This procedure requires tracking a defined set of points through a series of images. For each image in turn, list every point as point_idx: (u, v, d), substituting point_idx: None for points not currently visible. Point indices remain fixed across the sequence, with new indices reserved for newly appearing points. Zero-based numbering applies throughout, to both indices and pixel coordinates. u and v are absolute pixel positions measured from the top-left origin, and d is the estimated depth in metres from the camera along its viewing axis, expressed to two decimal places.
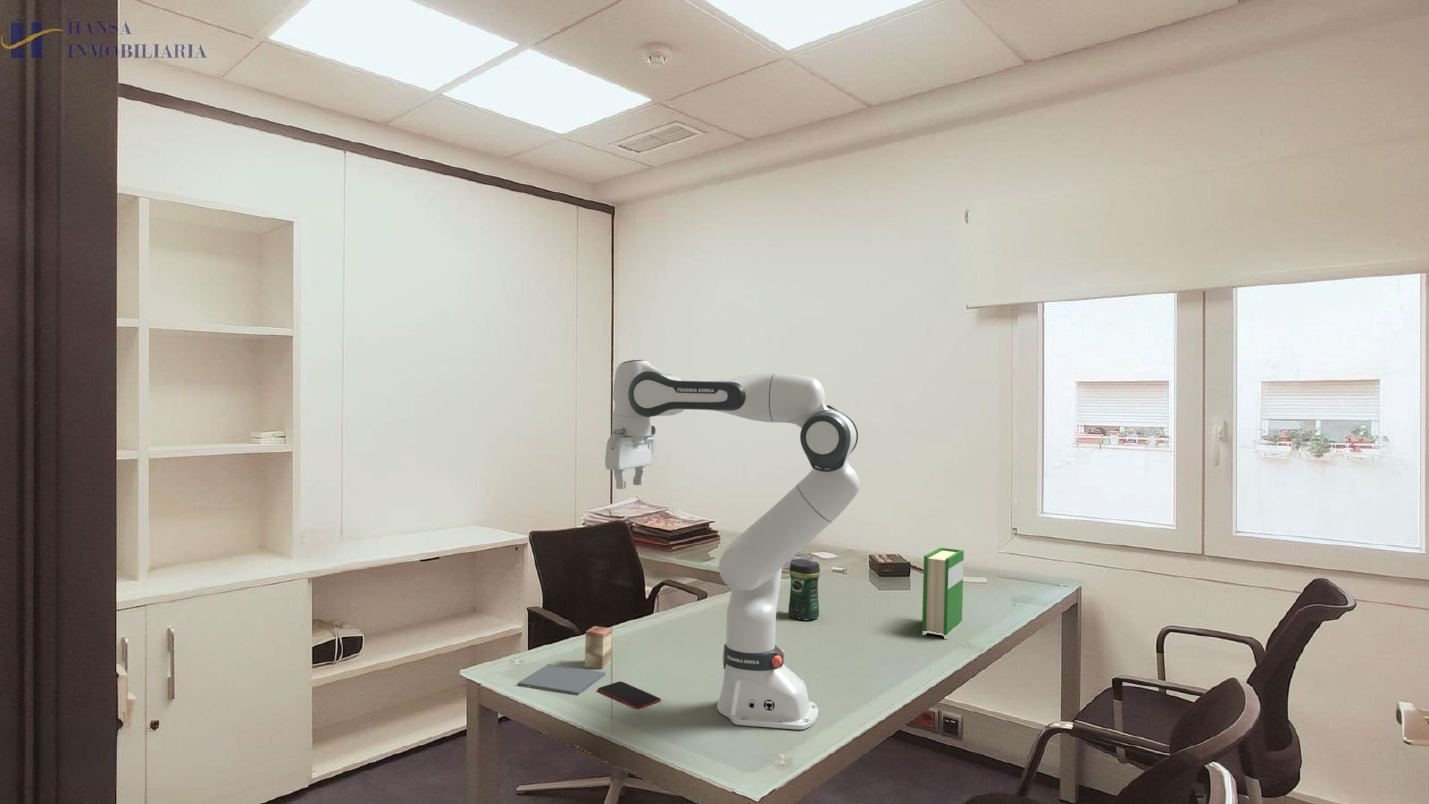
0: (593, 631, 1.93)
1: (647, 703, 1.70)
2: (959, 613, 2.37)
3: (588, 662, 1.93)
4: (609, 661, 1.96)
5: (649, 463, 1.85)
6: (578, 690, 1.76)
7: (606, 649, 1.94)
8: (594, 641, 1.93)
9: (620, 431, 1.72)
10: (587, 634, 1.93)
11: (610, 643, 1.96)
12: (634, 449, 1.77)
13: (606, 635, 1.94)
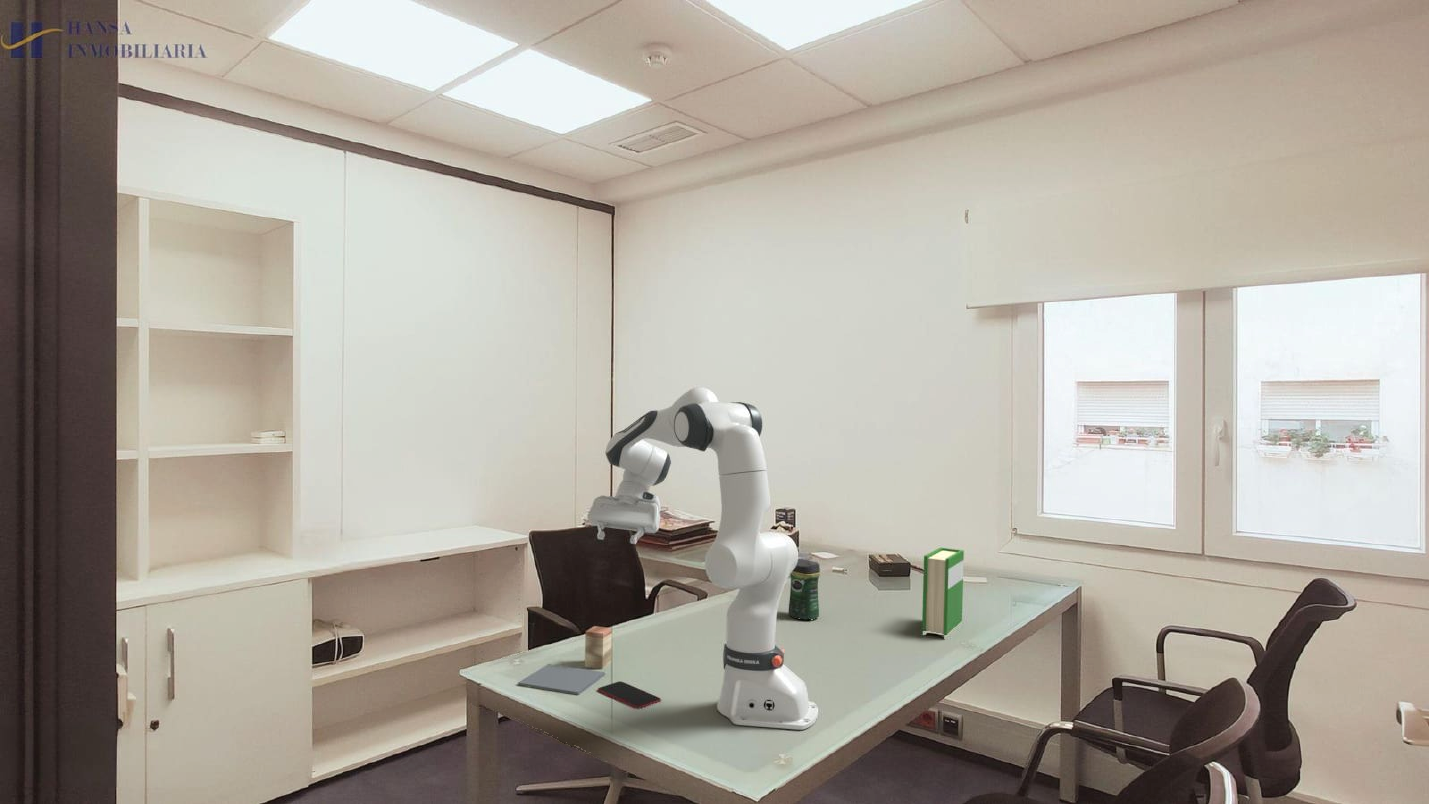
0: (593, 631, 1.93)
1: (647, 703, 1.70)
2: (959, 613, 2.37)
3: (588, 662, 1.93)
4: (609, 661, 1.96)
5: (647, 524, 2.05)
6: (578, 690, 1.76)
7: (606, 649, 1.94)
8: (594, 641, 1.93)
9: (607, 497, 2.15)
10: (587, 634, 1.93)
11: (610, 643, 1.96)
12: (621, 509, 2.10)
13: (606, 635, 1.94)
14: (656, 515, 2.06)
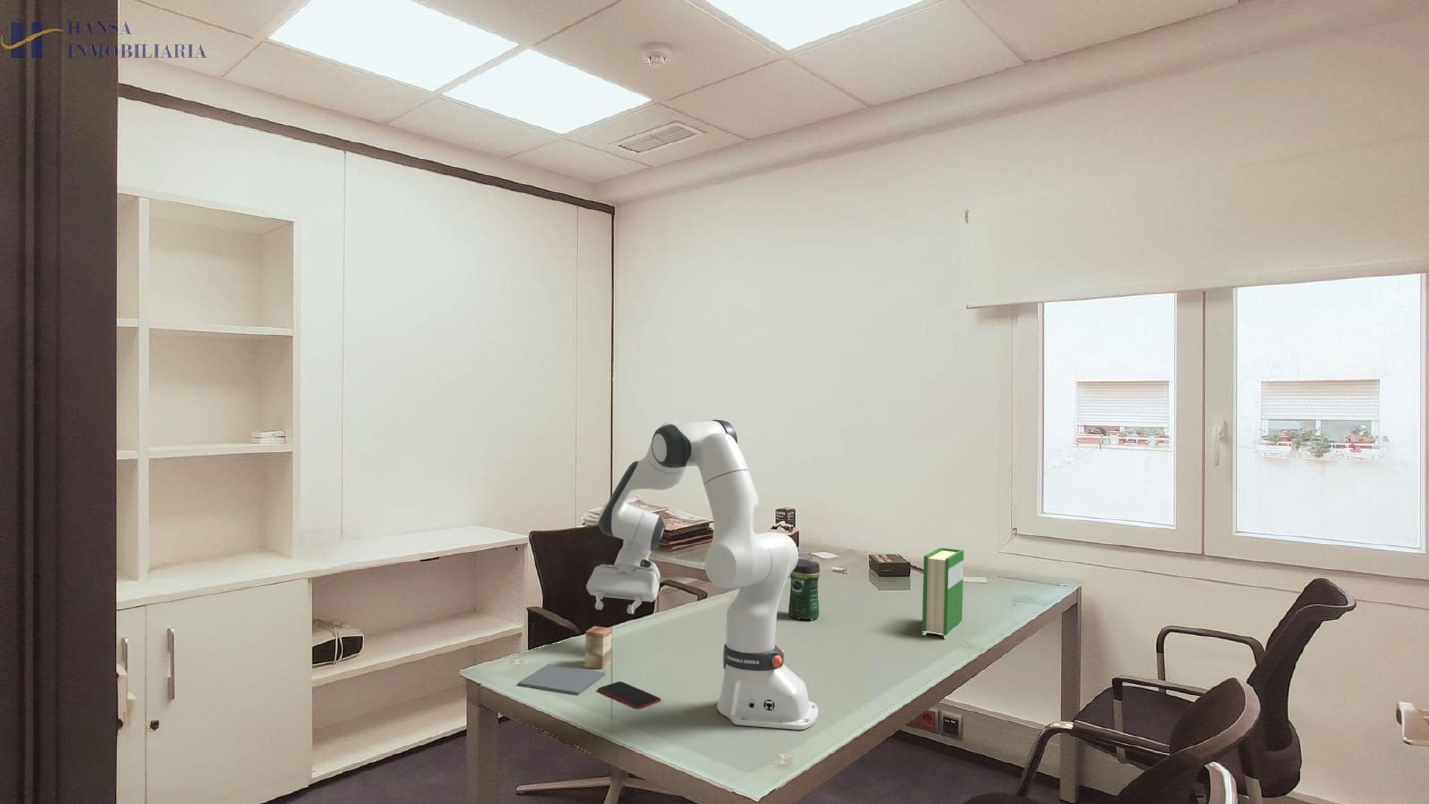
0: (593, 631, 1.93)
1: (647, 703, 1.70)
2: (959, 613, 2.37)
3: (588, 662, 1.93)
4: (609, 661, 1.96)
5: (644, 593, 2.03)
6: (578, 690, 1.76)
7: (606, 649, 1.94)
8: (594, 641, 1.93)
9: (607, 565, 2.14)
10: (587, 634, 1.93)
11: (610, 643, 1.96)
12: (619, 578, 2.08)
13: (606, 635, 1.94)
14: (653, 583, 2.04)
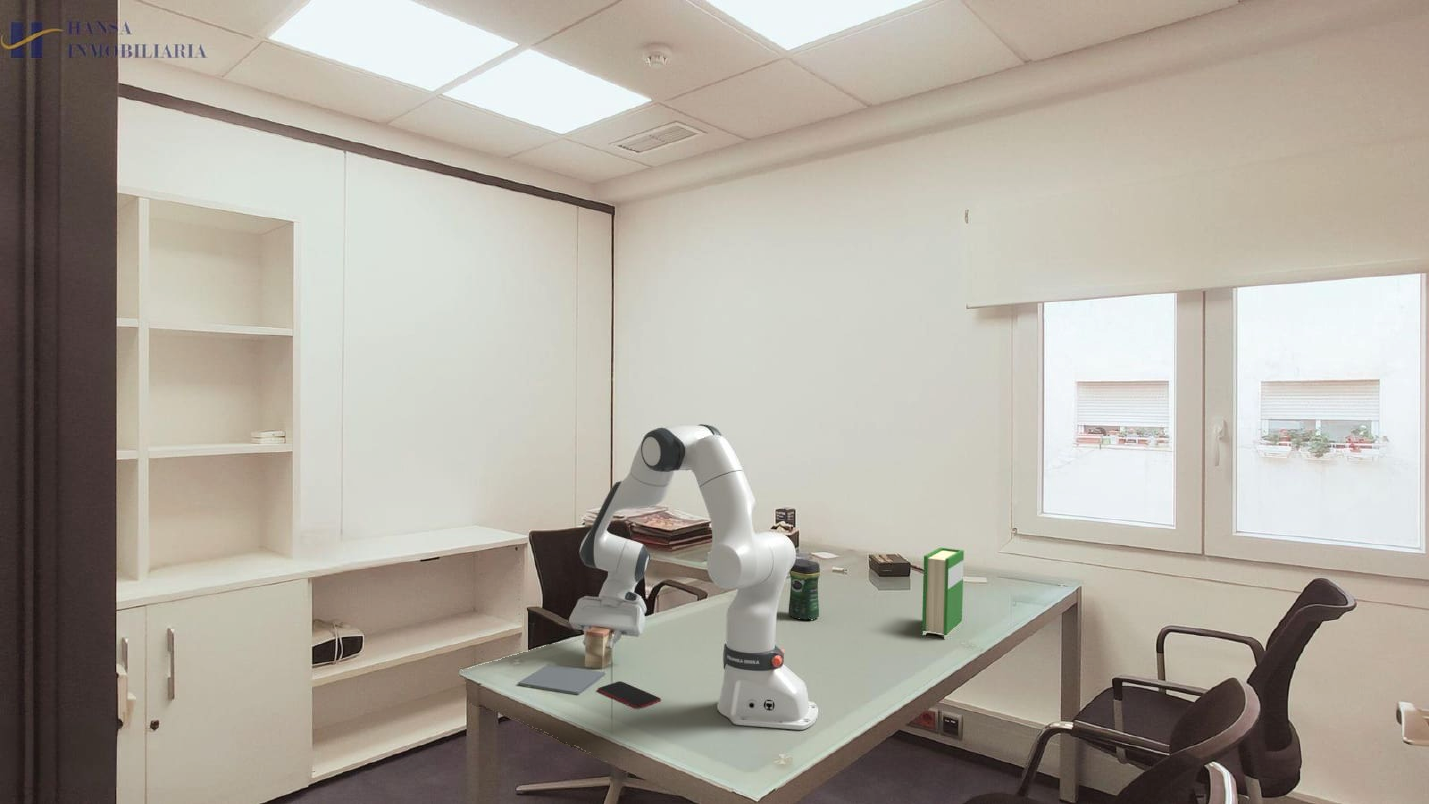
0: (593, 631, 1.93)
1: (647, 703, 1.70)
2: (959, 613, 2.37)
3: (588, 662, 1.93)
4: (609, 661, 1.96)
5: (628, 628, 1.94)
6: (578, 690, 1.76)
7: (606, 649, 1.94)
8: (594, 641, 1.93)
9: (591, 597, 2.05)
10: (587, 634, 1.93)
11: None
12: (603, 611, 2.00)
13: (606, 635, 1.94)
14: (638, 618, 1.96)
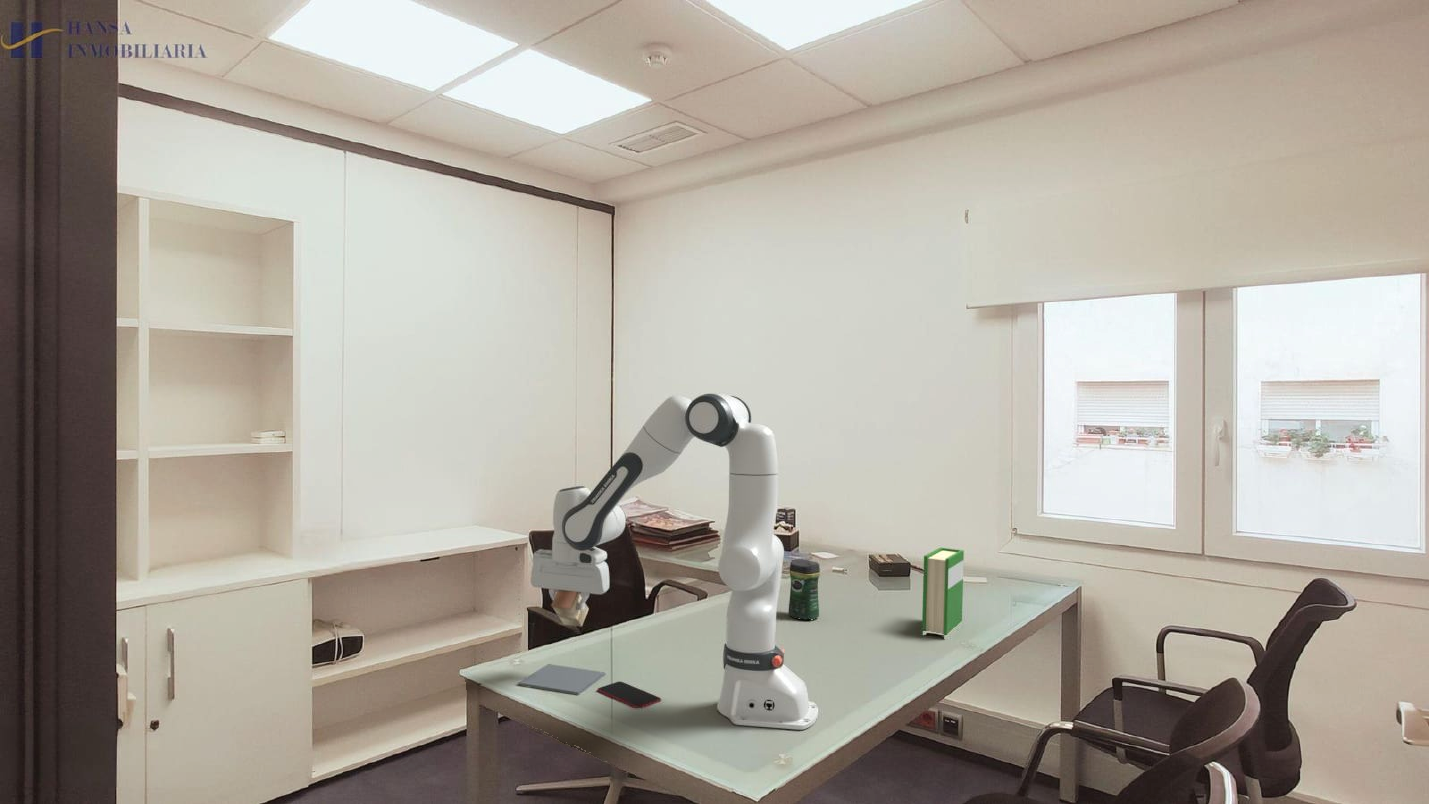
0: (559, 604, 1.82)
1: (647, 703, 1.70)
2: (959, 613, 2.37)
3: (566, 622, 1.87)
4: (587, 609, 1.89)
5: (594, 592, 1.81)
6: (578, 690, 1.76)
7: (578, 610, 1.85)
8: (563, 611, 1.83)
9: (545, 552, 1.87)
10: (554, 607, 1.83)
11: None
12: (562, 572, 1.84)
13: (573, 602, 1.83)
14: (600, 580, 1.81)
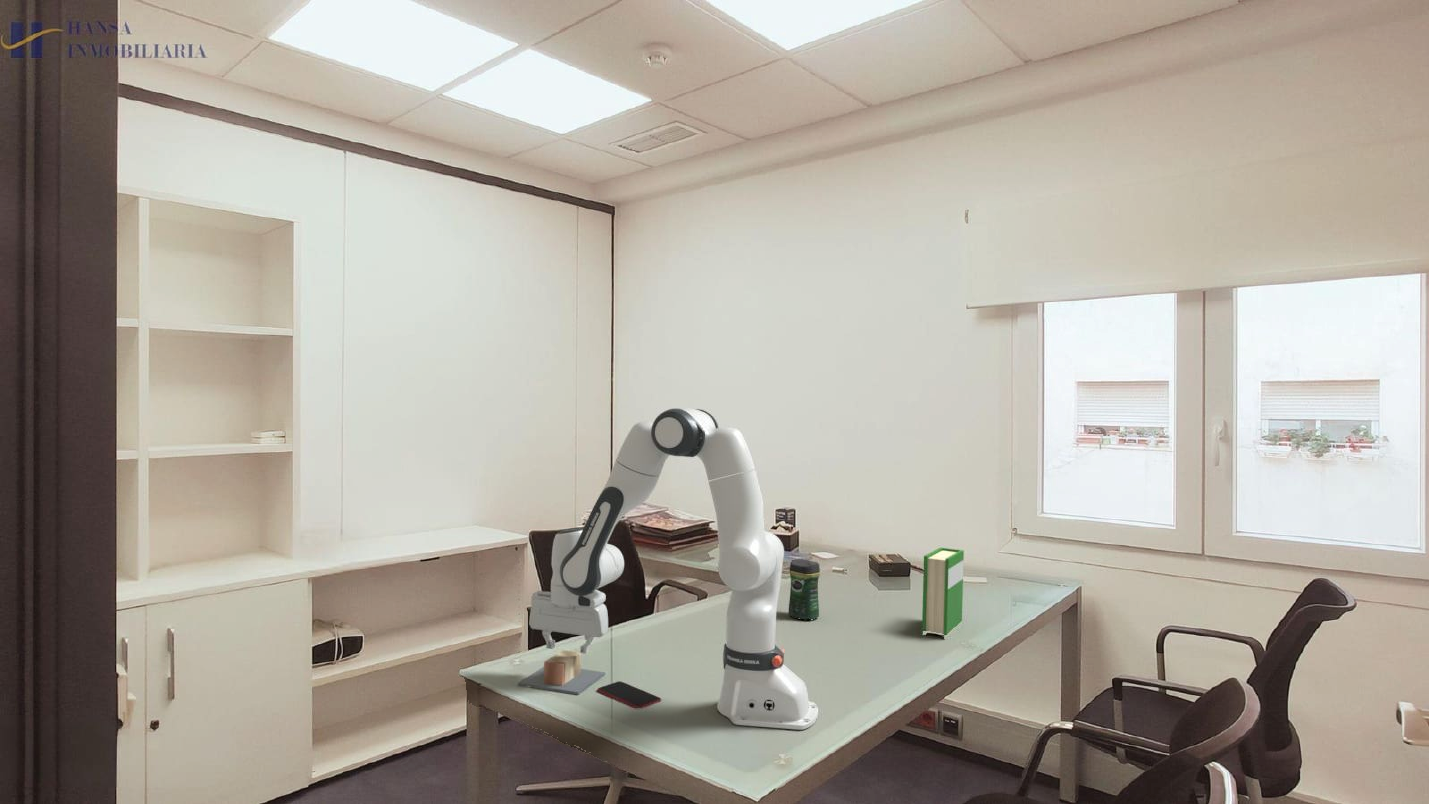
0: (550, 681, 1.79)
1: (647, 703, 1.70)
2: (959, 613, 2.37)
3: None
4: (579, 656, 1.86)
5: (592, 635, 1.81)
6: (578, 690, 1.76)
7: (571, 671, 1.83)
8: None
9: (543, 593, 1.87)
10: None
11: (570, 661, 1.82)
12: (561, 615, 1.84)
13: (564, 676, 1.79)
14: (599, 623, 1.81)
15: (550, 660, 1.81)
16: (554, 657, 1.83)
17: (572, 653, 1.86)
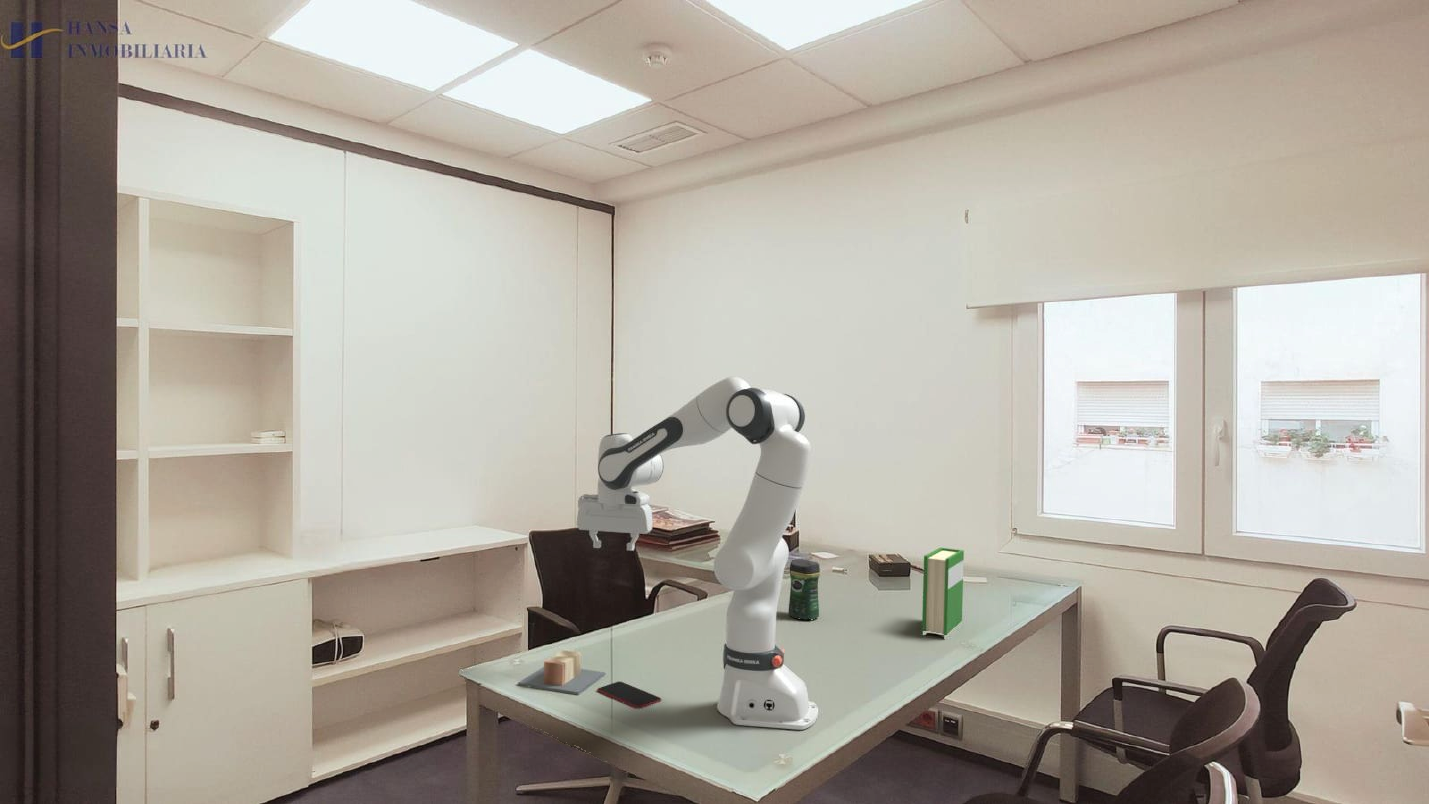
0: (550, 681, 1.79)
1: (648, 703, 1.70)
2: (959, 613, 2.37)
3: None
4: (579, 656, 1.86)
5: (638, 532, 1.92)
6: (578, 690, 1.76)
7: (571, 671, 1.83)
8: None
9: (590, 496, 1.98)
10: None
11: (570, 661, 1.82)
12: (608, 514, 1.95)
13: (564, 676, 1.79)
14: (645, 520, 1.91)
15: (550, 660, 1.81)
16: (554, 657, 1.83)
17: (572, 653, 1.86)
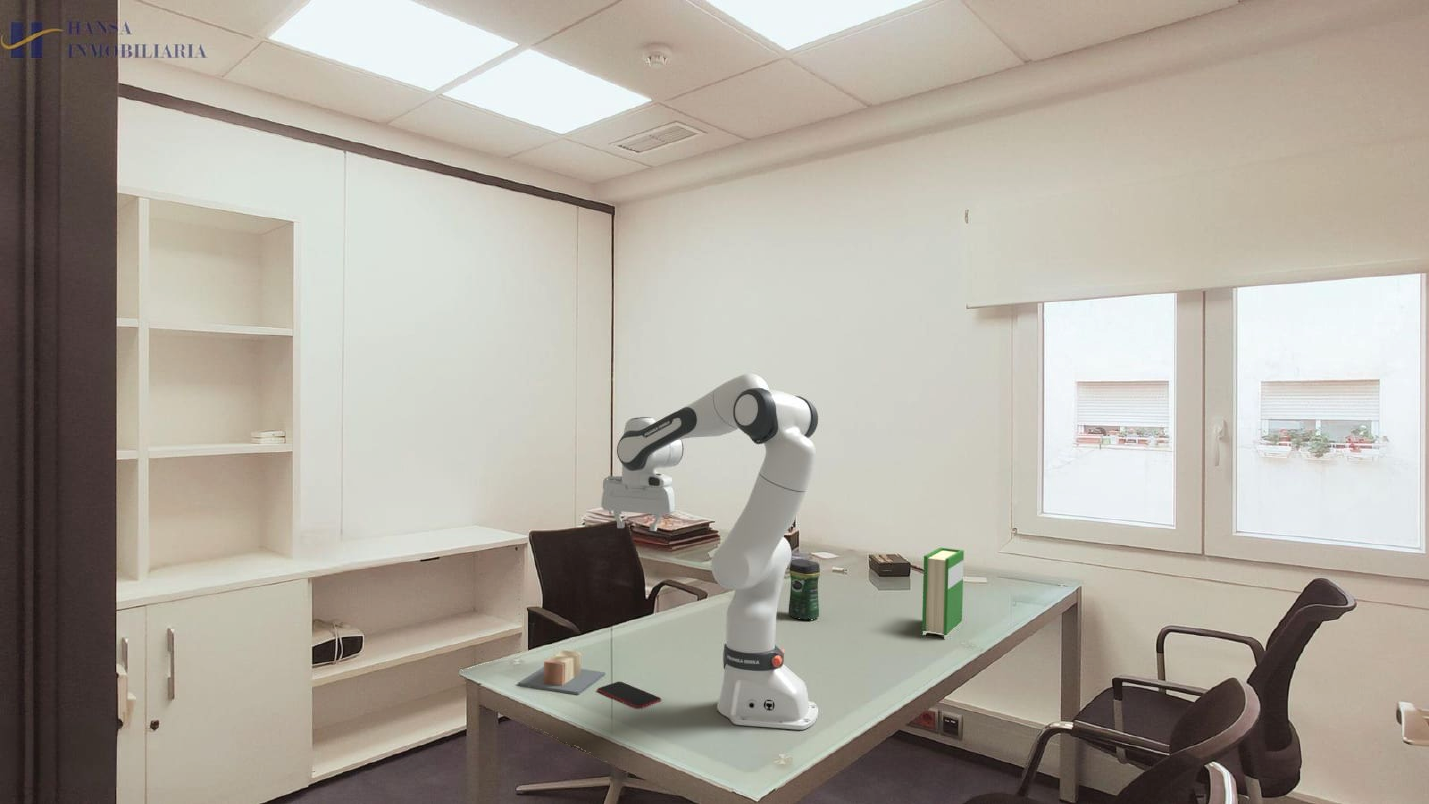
0: (550, 681, 1.79)
1: (648, 703, 1.70)
2: (959, 613, 2.37)
3: None
4: (579, 656, 1.86)
5: (661, 513, 1.98)
6: (578, 690, 1.76)
7: (571, 671, 1.83)
8: None
9: (614, 478, 2.04)
10: None
11: (570, 661, 1.82)
12: (631, 496, 2.01)
13: (564, 676, 1.79)
14: (668, 502, 1.97)
15: (550, 660, 1.81)
16: (554, 657, 1.83)
17: (572, 653, 1.86)
